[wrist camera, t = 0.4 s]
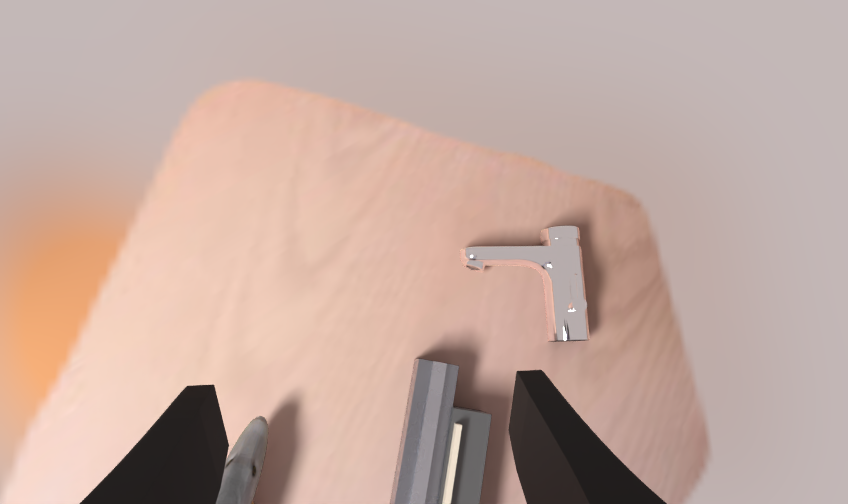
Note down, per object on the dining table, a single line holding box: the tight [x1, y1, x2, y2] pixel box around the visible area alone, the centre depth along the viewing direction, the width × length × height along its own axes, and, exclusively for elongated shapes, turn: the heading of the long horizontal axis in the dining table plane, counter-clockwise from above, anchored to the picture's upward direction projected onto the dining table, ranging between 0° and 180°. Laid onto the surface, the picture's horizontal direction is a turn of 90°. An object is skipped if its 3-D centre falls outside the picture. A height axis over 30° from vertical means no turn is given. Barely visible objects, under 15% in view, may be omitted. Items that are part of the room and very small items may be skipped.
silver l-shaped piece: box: [460, 226, 590, 342], centre depth 42 cm, size 10×4×9 cm
